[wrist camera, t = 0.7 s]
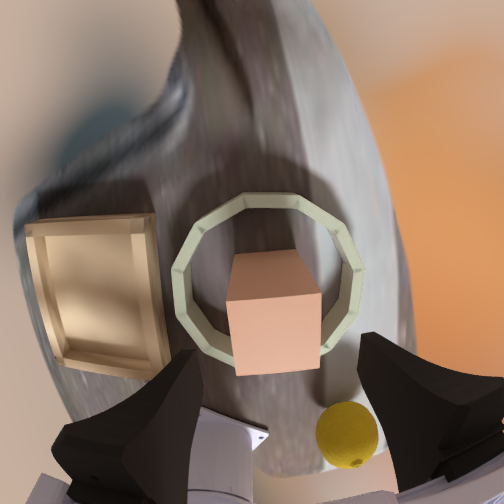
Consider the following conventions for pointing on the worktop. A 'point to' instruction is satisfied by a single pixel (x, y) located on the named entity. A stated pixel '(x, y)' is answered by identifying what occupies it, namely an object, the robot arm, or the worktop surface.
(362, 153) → the worktop surface
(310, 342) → the pink block
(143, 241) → the birch tray
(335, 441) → the lemon
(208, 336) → the ceramic ring
